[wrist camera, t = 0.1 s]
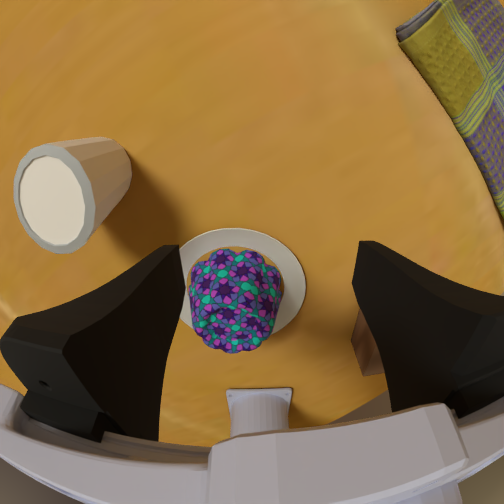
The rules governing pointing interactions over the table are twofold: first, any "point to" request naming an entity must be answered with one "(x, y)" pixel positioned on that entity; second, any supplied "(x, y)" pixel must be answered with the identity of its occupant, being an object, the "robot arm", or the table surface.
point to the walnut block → (366, 348)
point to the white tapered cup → (70, 190)
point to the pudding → (239, 288)
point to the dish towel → (465, 74)
